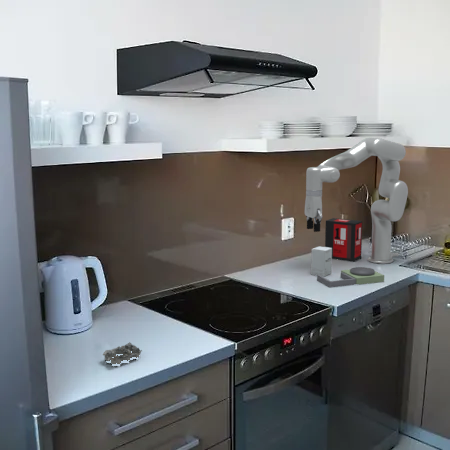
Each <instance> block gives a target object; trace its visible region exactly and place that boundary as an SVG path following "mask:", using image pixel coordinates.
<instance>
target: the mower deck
mask: <svg viewBox="0 0 450 450" xmlns="http://www.w3.org/2000/svg"><path fill="white" fill-rule="evenodd" d="M340 278H341V279H338V280H337V279H335V280H329V279H328V278H326V277H322V276H321V275H316V281H318V282H319V283H321V284H323V285H324V286H327V287H328V288H338V287H345V286H353V285H354V284H359V285H366V284H367V283H368V284H376V283H384V282H385V275H384V274H382V273H380V272H377V271H376V270H375V269H373V268H371V267H365V266H364V267H363V266H358V267H357V266H355V267H351V268H350V269H342V270H340Z"/></svg>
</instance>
